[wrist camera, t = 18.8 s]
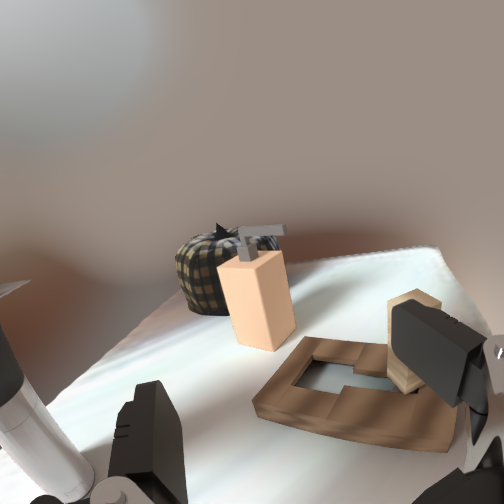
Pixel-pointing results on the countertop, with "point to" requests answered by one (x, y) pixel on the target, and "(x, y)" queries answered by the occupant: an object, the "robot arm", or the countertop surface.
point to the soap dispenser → (258, 291)
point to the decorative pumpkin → (211, 267)
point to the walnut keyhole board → (356, 401)
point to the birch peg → (395, 368)
